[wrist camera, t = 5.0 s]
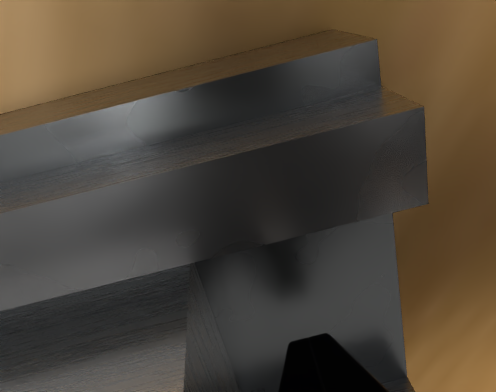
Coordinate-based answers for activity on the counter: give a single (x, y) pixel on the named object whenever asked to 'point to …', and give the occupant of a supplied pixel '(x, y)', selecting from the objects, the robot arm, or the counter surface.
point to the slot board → (228, 197)
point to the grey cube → (118, 339)
